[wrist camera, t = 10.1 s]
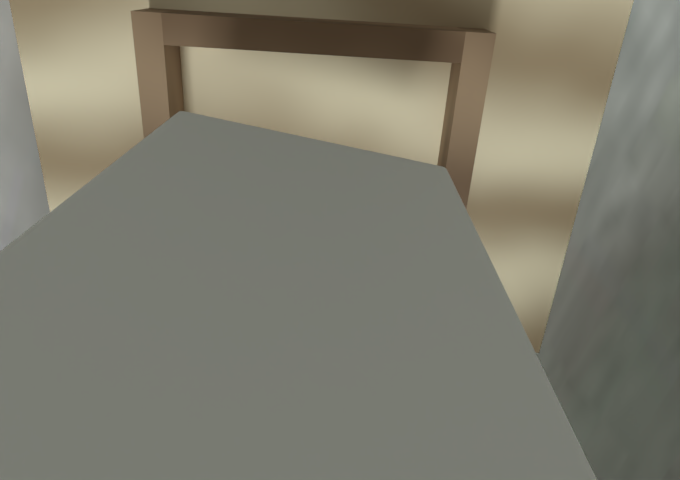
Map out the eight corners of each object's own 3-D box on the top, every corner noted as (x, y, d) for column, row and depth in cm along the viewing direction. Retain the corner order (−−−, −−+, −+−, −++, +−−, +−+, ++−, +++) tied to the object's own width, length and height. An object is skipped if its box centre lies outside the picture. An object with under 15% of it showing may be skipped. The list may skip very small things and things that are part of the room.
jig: (531, 337, 27) (551, 378, 24) (83, 310, 27) (53, 348, 24) (624, -25, 20) (667, -25, 17) (16, -63, 20) (-38, -69, 17)
